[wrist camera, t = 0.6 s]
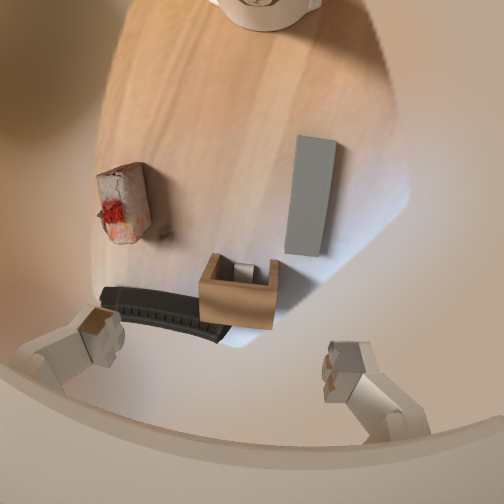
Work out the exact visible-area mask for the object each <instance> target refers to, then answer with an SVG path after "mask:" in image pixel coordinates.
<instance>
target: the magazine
mask: <svg viewBox="0 0 504 504" xmlns="http://www.w3.org/2000/svg"><path fill="white" fill-rule="evenodd" d="M99 300H100V306H99V307H102V308H105V309H109V310H113V311H117V312H119V313H120V316H121V319H122V320H121V321H122V322H131V323H138V324H144V325H150V326H155V327H161V328H165V329H169V330H173V331H177V332H182V333H187V334H191V335H194V336H198V337H201V338H204V339H207V340H210V341H212V342H214V343H216V344H218V342H219V341H220V340H222V339H223V338H224V336H225V335H226V334H227V332H228V331H229V330H230V328H231V327H232V326H231V325H223V324H216V323H209V322H202V321H200V309H199V299H198V298H194V297H189V296H184V295H179V294H174V293H168V292H162V291H155V290H146V289H135V288H124V287H104V288H103V291H102V293H101V296H100V299H99Z"/></svg>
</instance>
